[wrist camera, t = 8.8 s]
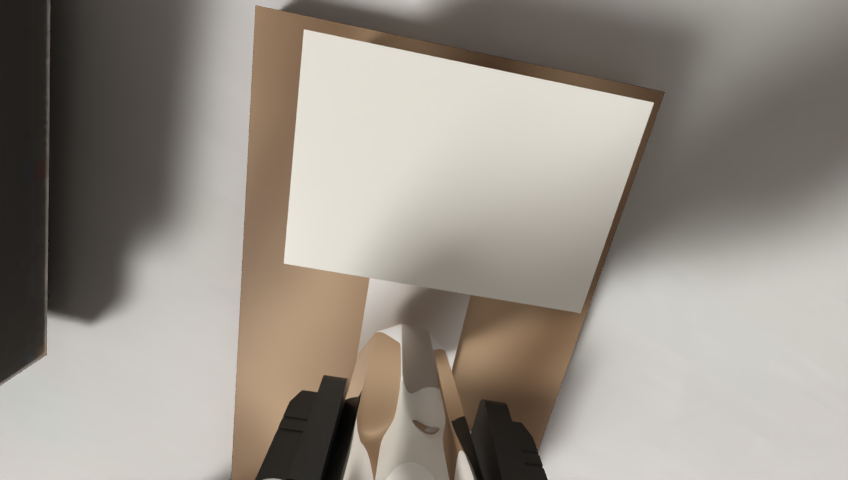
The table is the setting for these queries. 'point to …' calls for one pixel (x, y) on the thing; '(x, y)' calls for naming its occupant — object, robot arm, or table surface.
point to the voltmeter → (24, 182)
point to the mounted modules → (454, 173)
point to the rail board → (366, 297)
